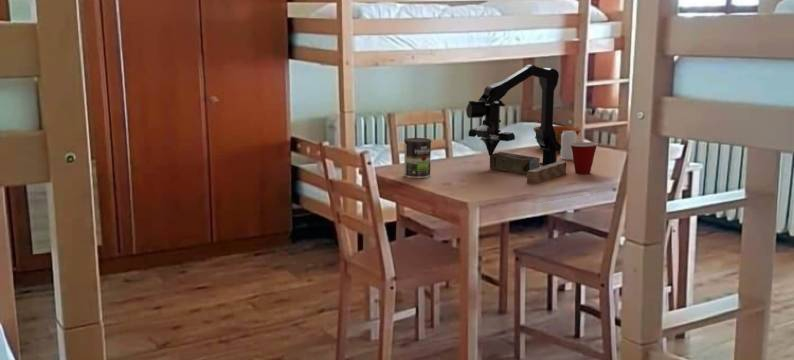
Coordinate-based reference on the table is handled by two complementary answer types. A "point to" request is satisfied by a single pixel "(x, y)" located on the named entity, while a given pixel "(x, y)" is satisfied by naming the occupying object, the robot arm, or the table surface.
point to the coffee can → (417, 157)
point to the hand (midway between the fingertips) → (490, 155)
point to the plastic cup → (583, 156)
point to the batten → (546, 172)
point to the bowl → (561, 131)
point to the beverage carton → (513, 162)
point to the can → (567, 144)
